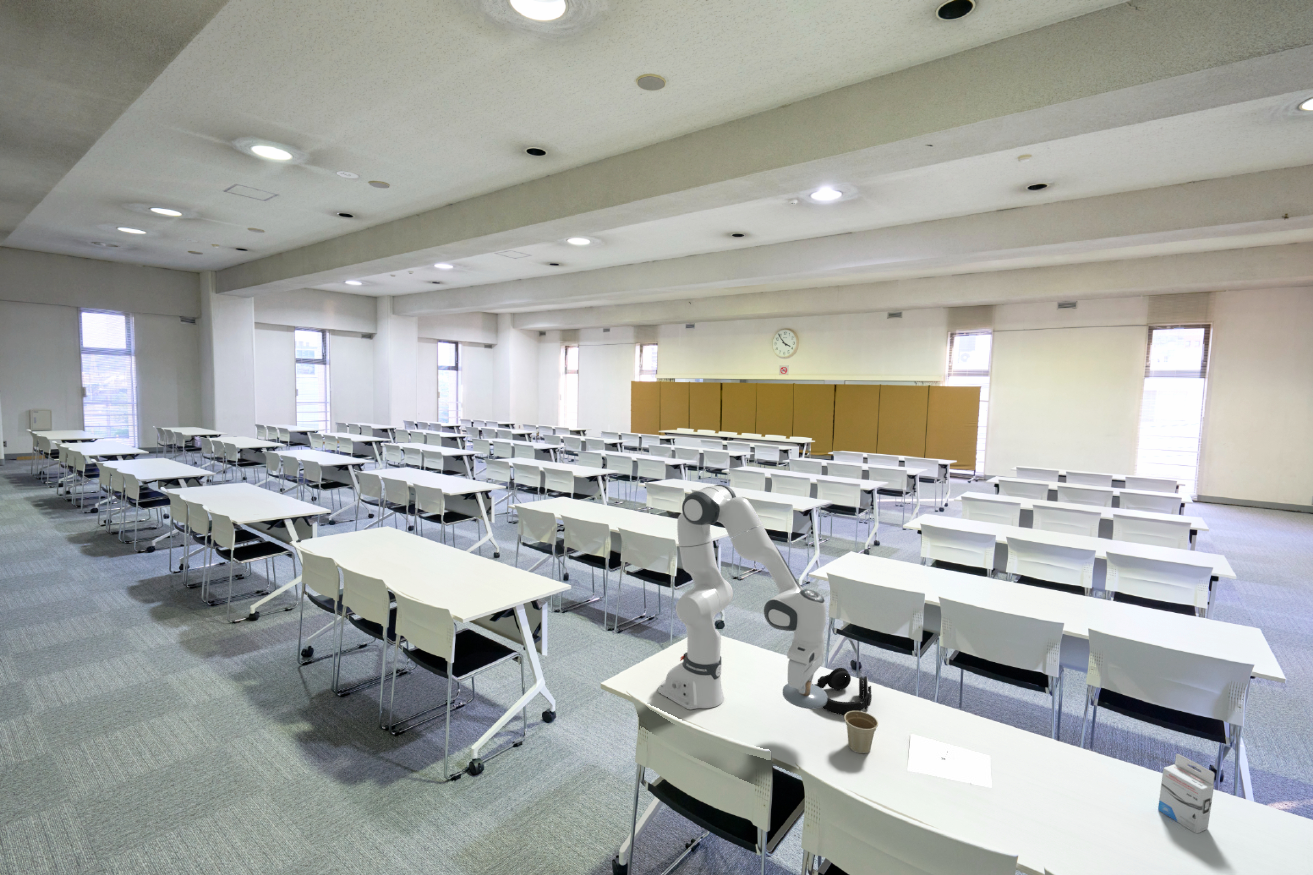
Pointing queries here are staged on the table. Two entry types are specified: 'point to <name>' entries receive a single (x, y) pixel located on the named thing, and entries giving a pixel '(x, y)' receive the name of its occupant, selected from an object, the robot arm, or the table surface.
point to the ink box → (1187, 794)
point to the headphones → (841, 682)
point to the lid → (806, 696)
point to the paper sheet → (948, 761)
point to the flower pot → (860, 730)
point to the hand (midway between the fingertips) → (805, 689)
